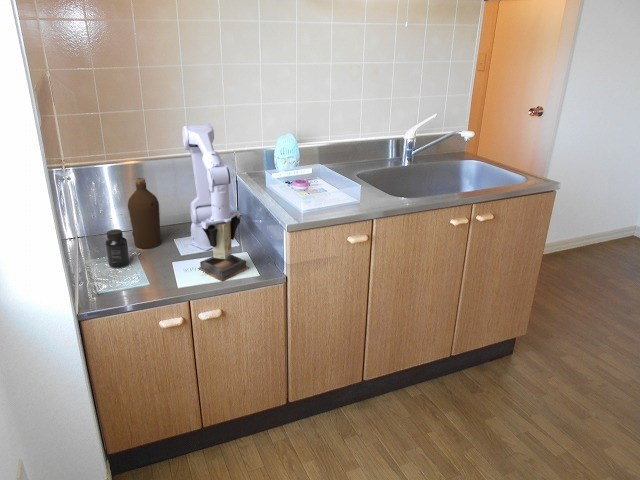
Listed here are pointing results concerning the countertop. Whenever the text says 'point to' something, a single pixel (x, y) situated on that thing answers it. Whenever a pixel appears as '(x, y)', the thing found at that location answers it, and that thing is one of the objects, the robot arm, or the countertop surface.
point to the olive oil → (144, 217)
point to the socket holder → (223, 267)
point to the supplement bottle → (117, 249)
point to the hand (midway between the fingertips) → (222, 242)
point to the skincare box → (223, 240)
